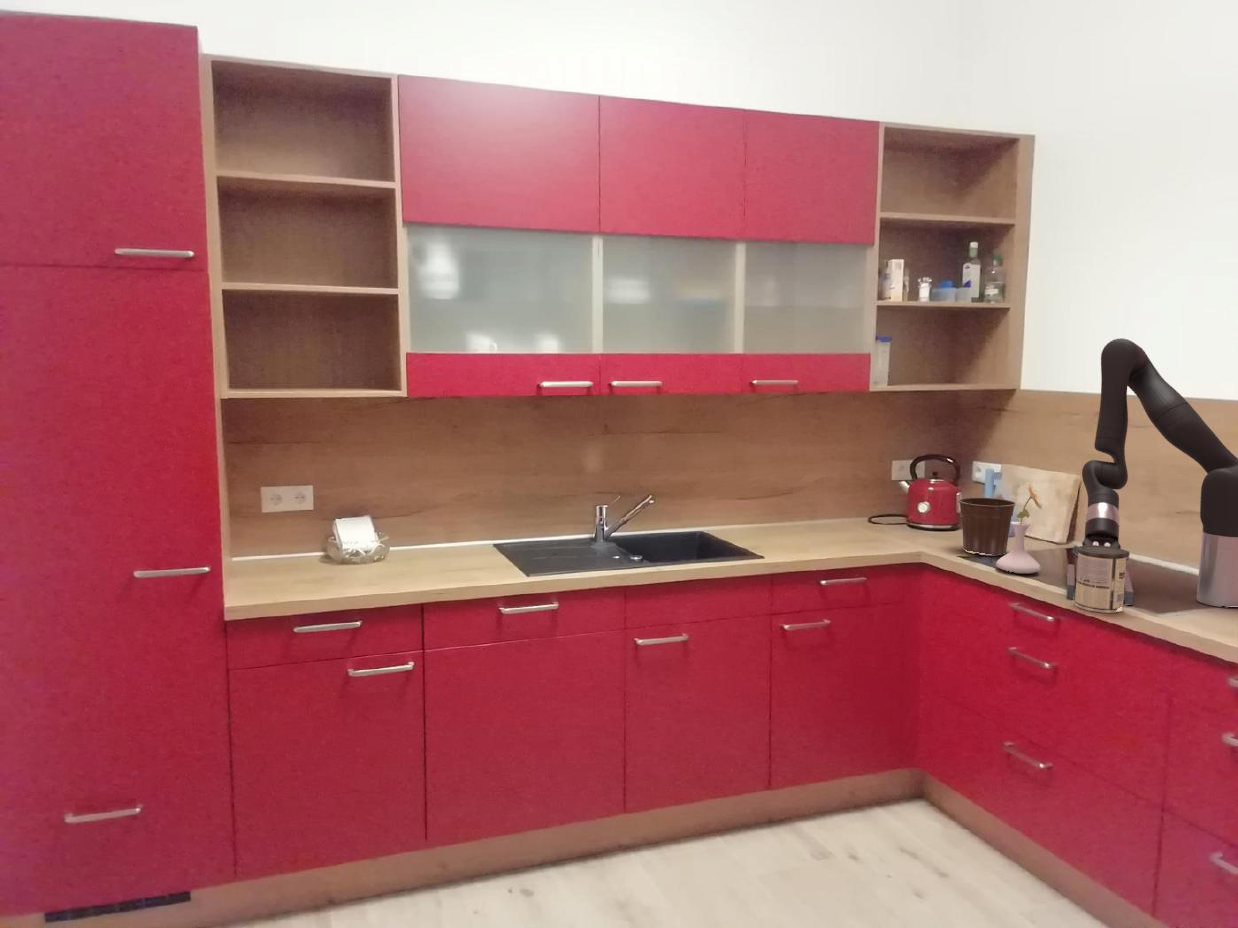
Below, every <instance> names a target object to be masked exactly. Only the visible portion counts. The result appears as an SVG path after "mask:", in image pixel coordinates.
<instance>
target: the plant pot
mask: <svg viewBox="0 0 1238 928" xmlns="http://www.w3.org/2000/svg"><path fill="white" fill-rule="evenodd" d="M957 501H958V503H959V508H960V509H959V510H960V514H961V522H962V524H961V525H962V527H961V528H962V540H963V541H962V544H963V545H962V546H963V548H964V549H965V550H967V551H973V552H979V553H985V554H992V555H998V554H1004V553H1006V554H1007V549H1008V543H1009V542H1008V541H1009V534H1010V528H1011V522H1012V517H1013V515H1014V510H1015V506H1017V502H1015V501H1012V500H1010V499H1009V500H1008V499H1002V498H996V497H994V498H993V497H963V498H959V499H958V500H957ZM1004 555H1005V554H1004Z"/></svg>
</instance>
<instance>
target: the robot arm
mask: <svg viewBox="0 0 1238 928" xmlns="http://www.w3.org/2000/svg"><path fill="white" fill-rule="evenodd" d="M1100 354H1101V355H1100V370H1101V371H1100V372H1101V373H1100V374H1101V376H1100V377H1101V384H1100V386H1101V387H1100V403H1099V404H1100V405H1099V410H1098V411H1099V412H1098V418H1097V426H1096V432H1095V439H1094V445H1093V446H1094V449H1095V450H1096V451H1098V452H1101V453H1104V454H1105V455H1109V456H1110V457H1111V458H1112V460H1113V462H1112V461H1104V460H1103V461H1102V460H1098V459H1097V460H1096V459H1092V460H1088V461H1087V462H1086V463H1084V465H1083V467H1082V471H1081V478H1082V481H1083V485H1084V487H1085V491H1086V494H1087V509H1086V510H1087V511H1086V513H1085V514H1086V515H1085V522H1084V525H1085V526H1084V539H1083V541H1082V542H1081V544H1080V545H1073V548H1072V554H1073V556H1074V557H1075V558H1076V559H1077V560H1078V547H1079V546H1084V545H1099V546H1109V547H1115V548H1120V549H1122V546H1121V544H1120V540H1119V537H1120V514H1119V513H1120V512H1119V509H1120V496H1119V494H1118V492H1117V490H1121V489H1123V488H1124V487H1125V486H1126V484H1127V483H1128V480H1129V473H1128V467H1127V461H1126V454H1125V453H1126V450H1125V448H1126V446H1125V445H1126V442H1127V441H1126V440H1127V435H1128V426H1129V424H1128V423H1129V413H1128V412H1129V411H1128V388H1129V389H1130V390H1131V391H1132V392H1133V393H1134V395H1136V397H1137V398H1138V400H1139V402H1140V403H1141V406H1142V407H1143V408H1142V409H1143V410H1144V412H1145V413H1146V416H1147V418H1148V419H1149V420H1150V422H1151V423H1152V424H1153V426H1154V427H1155V429H1156V430H1158V432H1159V433H1160V434H1161V436H1163V438H1164V440H1166V441H1167V442H1168V443H1169V444H1171V445H1172V446H1173V447H1175V448H1176V449H1178V450H1179V451H1180V452H1181V453H1183V454H1184V455H1186V456H1188V457H1189V458H1191V459H1192V460H1194V461H1195V462H1196V463H1197V464H1198V465H1200V467H1201V468H1202V469H1203V470H1204V471H1205V472H1206V475H1205V477H1204V478H1203V481H1202V483H1201V487H1200V488H1201V489H1200V505H1199V507H1200V509H1199V516H1200V517H1199V518H1200V521H1201V525H1202V535H1201V544H1200V545H1201V546H1200V555H1199V557H1200V558H1199V567H1198V579H1197V590H1196V601H1198V602H1199V603H1201V604H1205V605H1207V606H1213V607H1219V608H1223V607H1222V606H1238V457H1237V456H1235V454H1233V453H1232V451H1230V449H1228V448H1227V446H1225V445H1224V443H1223V442H1222V441H1221V440H1220V439H1219V438H1218V436H1217V435H1216V433H1214V431H1213V430H1212V429H1211V428H1210V427H1209V425H1208V424H1207V423H1206V422H1205V421H1204V420H1203V418H1202V417H1201V416H1200V415H1199V413H1198V412H1197V411H1196V410H1195V409H1194V408H1193V407H1192V405H1191V404H1190V403H1189V402H1188V400H1187V399H1185V398H1184V397H1183V396H1182V395H1181V393H1179V392H1178V391H1177V390H1176V389H1175V388H1174V387H1172V385H1171V384H1169V383H1168V382H1167V381H1166V380H1165V379H1164V378H1163V377H1162V376H1161V374H1160V373H1159V371H1158V370H1157V369H1156V367H1155V366H1154V364H1153V363H1152V361H1151V359H1150V358H1149V356H1148V355H1147V353H1146V352H1145V350H1144V349H1143V348H1142V347H1141V346H1139V345H1138V344H1136V343H1135V342H1133V341H1132V340H1130V339H1128V338H1127V339H1126V338H1124V337H1123V338H1116V339H1112V340H1111V341H1109V342H1108V343H1107V344H1105V346H1104V347H1103V349H1102V351H1101V353H1100ZM1126 551H1127V552H1128V553H1127V556H1126V562H1127V561H1129V559H1130V554H1131V553H1130V551H1129V550H1126Z"/></svg>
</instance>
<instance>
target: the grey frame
mask: <svg viewBox="0 0 1238 928" xmlns="http://www.w3.org/2000/svg"><path fill="white" fill-rule="evenodd" d="M1067 565H1068V566H1067V580H1066V582H1067V583H1066V599H1067V600H1068V599H1069V600H1074V599H1075V589H1076V580H1075V578H1076V577H1075V575H1076V574H1075V564H1069V563H1068V564H1067ZM1134 592H1135V591H1134V589H1133V586H1132V582H1131V577H1130V574H1129V571H1128V569H1126V570H1125V584H1124V598H1123V603H1124V605H1125V604H1130V605H1132V606H1134V605H1133V603H1134ZM1073 598H1074V599H1073Z"/></svg>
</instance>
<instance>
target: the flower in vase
mask: <svg viewBox="0 0 1238 928" xmlns="http://www.w3.org/2000/svg"><path fill="white" fill-rule="evenodd" d="M1026 486H1027V490H1028V493H1029V498H1028V499H1027V501H1026V502H1025V504H1024V506H1023V508H1022V511H1020V512H1019V513H1018V514H1016V518H1019V519H1020V521H1011V522H1010V525H1011V526H1012V527H1013V531H1014V536H1015V537H1014V538H1015V539H1014V547H1013V548H1012V550H1011V551H1009V552H1008V553H1006V554H1004V555H1003V556H1000V558H999V559H998V560H997V561H996V563H995V565H996V567H997V568H998V569H1000V570H1002V571H1004V570H1005V572H1008V571H1009V572H1008V573H1012V572H1014V573H1015V574H1022V575H1023V574H1024V575H1025V574H1034V573H1037V572H1039V571H1041V569H1042V568H1041V565H1040V563H1038V562H1037V560H1035V558H1033V557H1032V556H1031V555H1030V554H1029V553H1028V552H1027V550H1026V548H1025V535H1026V532H1027V530H1028V529H1029V527H1030V526H1031V523H1030V522H1029V523H1028V522H1025V521H1023V518H1029V517H1030V512H1029V510H1028V509H1026V507H1027V504H1028V503H1029V501H1031V499H1032V501H1033V503H1034V504H1035V506H1036V507H1037V508H1038V509H1039V510H1042V509H1043V506H1044V505H1043V503H1042V502H1041V497H1040V496H1039V495H1038V494H1037V490H1036V488H1034V486H1033V484H1032V483H1031V482H1030V483H1029V482H1027V485H1026ZM1014 573H1013V574H1014Z"/></svg>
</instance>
